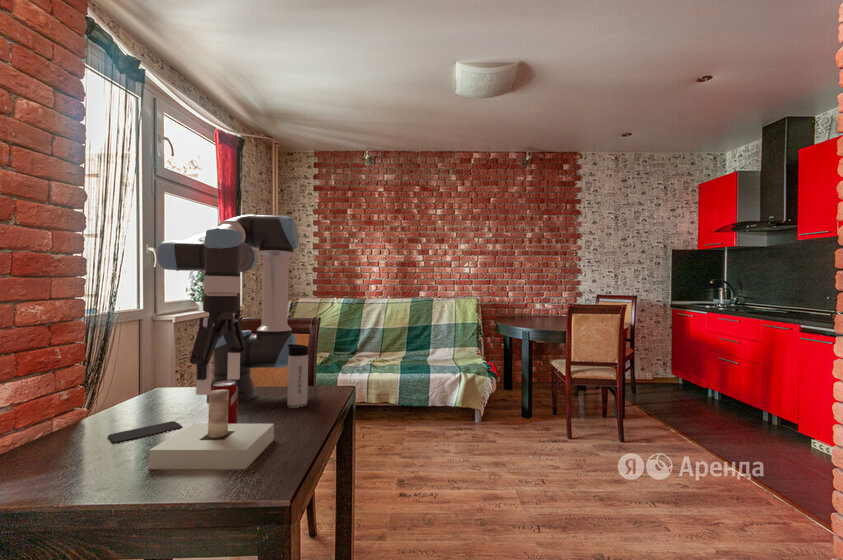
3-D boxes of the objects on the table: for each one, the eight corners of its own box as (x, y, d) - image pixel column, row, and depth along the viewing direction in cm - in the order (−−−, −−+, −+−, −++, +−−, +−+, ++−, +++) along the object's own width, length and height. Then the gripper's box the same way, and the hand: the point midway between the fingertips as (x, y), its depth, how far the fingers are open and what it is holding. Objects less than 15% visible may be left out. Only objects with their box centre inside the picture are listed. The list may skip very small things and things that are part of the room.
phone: (183, 426, 103) (113, 442, 91) (183, 429, 103) (113, 445, 91) (174, 420, 107) (106, 434, 96) (174, 423, 107) (106, 438, 96)
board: (193, 439, 95) (193, 423, 95) (273, 439, 95) (274, 423, 95) (148, 469, 79) (149, 449, 79) (245, 469, 79) (246, 449, 79)
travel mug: (291, 402, 128) (293, 343, 128) (310, 403, 127) (311, 343, 127) (282, 407, 121) (284, 345, 122) (301, 409, 120) (303, 346, 121)
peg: (213, 449, 89) (214, 389, 89) (230, 449, 89) (232, 389, 90) (203, 456, 85) (205, 394, 85) (221, 456, 85) (223, 394, 85)
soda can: (225, 432, 100) (226, 386, 100) (203, 430, 101) (204, 385, 101) (242, 423, 106) (243, 380, 107) (221, 422, 108) (222, 379, 108)
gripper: (231, 293, 101) (229, 373, 100) (171, 295, 76) (168, 402, 75) (259, 294, 101) (257, 373, 100) (209, 296, 76) (206, 402, 75)
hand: (219, 386), depth 88 cm, fingers open, 13 cm apart
